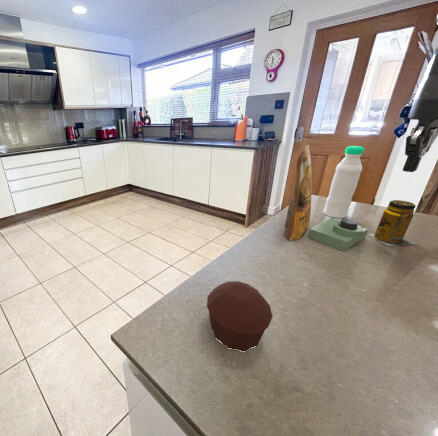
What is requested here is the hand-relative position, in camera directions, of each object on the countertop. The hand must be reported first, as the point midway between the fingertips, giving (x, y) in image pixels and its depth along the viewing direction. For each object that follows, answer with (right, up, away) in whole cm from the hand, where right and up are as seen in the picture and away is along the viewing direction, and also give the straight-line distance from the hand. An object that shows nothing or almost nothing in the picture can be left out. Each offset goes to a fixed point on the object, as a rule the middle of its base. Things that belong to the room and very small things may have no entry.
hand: (409, 171), depth 61 cm
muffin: (-51, -35, -15) cm, 63 cm away
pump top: (-8, -15, +10) cm, 19 cm away
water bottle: (+3, -11, +28) cm, 30 cm away
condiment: (+6, -19, +11) cm, 23 cm away
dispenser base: (-8, -18, +13) cm, 24 cm away
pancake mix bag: (-18, -17, +19) cm, 31 cm away
